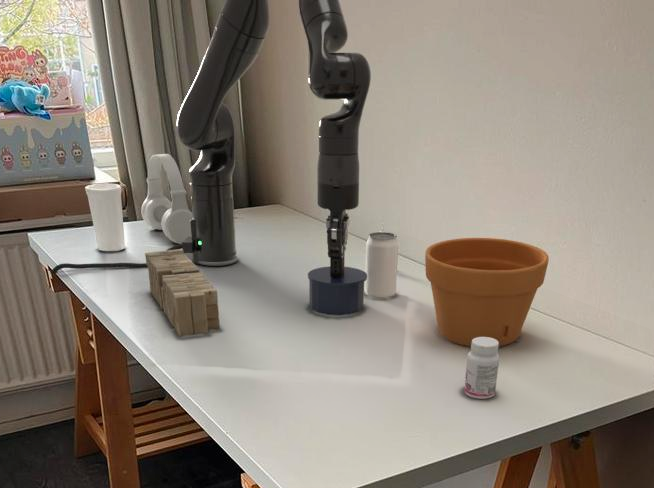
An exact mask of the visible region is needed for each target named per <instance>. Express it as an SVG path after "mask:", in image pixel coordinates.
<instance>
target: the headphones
mask: <svg viewBox="0 0 654 488" xmlns="http://www.w3.org/2000/svg"><path fill="white" fill-rule="evenodd" d="M162 166H163V168H164V171H165V173H166V177H167V180H168V184H169V188H170V189H169V190H170V191H169V194H170V197H171V200H169V199H168V198H167V197H166V196H165V195H164V190H163V187H162V181H163V180H162V177H161V176H162V175H161V174H162V173H161V172H162ZM147 167H148V168H147V178H146V183H147V195H146V198H145V199H144V201H143V202H142V205H141V208H140V209H141V210H140V213H141V217H142V219H143V221H144V223H145V224H146V225H147V226H148V227H150V228H152V229H155V230H157V231H158V230H159V231H162V232H163V234H164V235H165V236H166V237H167V238H168V239H169V240H170V241H171V242H173V243H175V244H177V245H180V244H182V242H183V241H184V240H185V239H186V238H187V237H191V225H190V220H191V219H193V216H192V211H191V210H190V208H189V205H188V202H187V196H186V195H187V191H186V189H185V186H184V182H183V178H182V175H181V172H180V169H179V166H178V164H177V161H175V159H174V157H173V156H172V155H171V154H169V153H160V154H159V153H158V154H153V155H151V157H150V159H149V162H148V166H147Z"/></svg>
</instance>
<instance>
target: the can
mask: <svg viewBox="0 0 654 488" xmlns="http://www.w3.org/2000/svg"><path fill="white" fill-rule="evenodd" d="M397 237H398V235H397V234H396V233H393V232H386V231H384V232H380V231H375V232H371V233H369V234H368V238H367V241H366V242H365V243H366V245H365V264H364V265H365V269H364V272H365V273H366V274H367V279H366V281H364V295H367V296H370V297H375V298H389V297H393V296H396V294H397V282H398V281H397V280H398V266H399V265H398V264H399V263H398V262H399V242H398V239H397Z"/></svg>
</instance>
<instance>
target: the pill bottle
mask: <svg viewBox="0 0 654 488" xmlns="http://www.w3.org/2000/svg"><path fill="white" fill-rule="evenodd" d="M498 345H499V342H498V341H497V340H496V339H494V338H490V337H477V338H474V339H473V340H472V343H471V347H470V351H469V352H468V354H467V359H466V369H465V377H464V378H465V379H464V387H463V389H464V393H465V395H466V396H468V397H470V398H473V399H478V400H479V399H480V400H487V399H490V398H493V397H494V396H495V394H496V391H497V389H496V388H497V380H498V373H499V365H500V355H499V353H498V352H499V347H498Z"/></svg>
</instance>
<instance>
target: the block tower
mask: <svg viewBox="0 0 654 488" xmlns="http://www.w3.org/2000/svg"><path fill="white" fill-rule="evenodd" d="M144 257H145V263H146V264H147V266H148V267H147V270H148V271H147V272H148V280H149V290H150V293H151V295H152V296H153V297H154V299H155V301H156V302H157V303H158V305H159V306H160V309H161V310H163V313H164V314H165V315H166V317H167V319H168V320H169V323H170V324H171V326H172V327H173V328H174V329H175V331H176V332H177V334H178V336H179V337H185V336H193V335H203V334H208V333H209V331H210V330H211V331H212V330H218V329H220V318H219V317H220V314H219V313H220V312H219V305H218V303H219V301H218V300H219V299H218V291H217V289H216V288H215V287H214V285H213V284H212V283H211V281H209V280H208V279H207V278H206V277H205V275H204V274H203V272H201V271H200V268H198V267H197V266H196V263H194V261H192V260H191V259H190V258H189V256H188V255H187V254H186V253H184V251H183V248H182V249H177V250H168V251H166V250H159V251H148V252H145V253H144Z"/></svg>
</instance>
